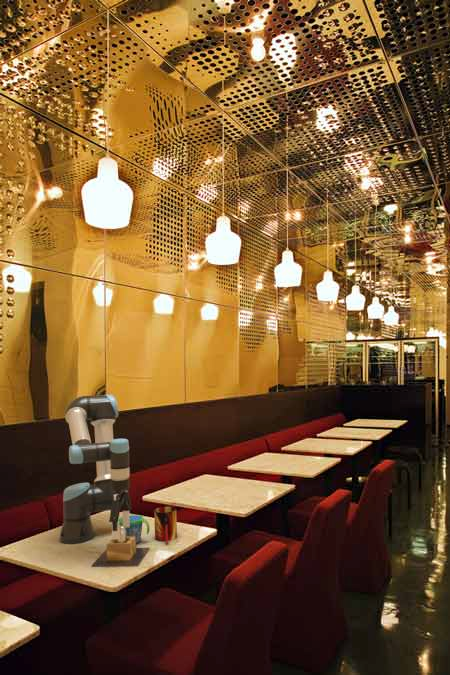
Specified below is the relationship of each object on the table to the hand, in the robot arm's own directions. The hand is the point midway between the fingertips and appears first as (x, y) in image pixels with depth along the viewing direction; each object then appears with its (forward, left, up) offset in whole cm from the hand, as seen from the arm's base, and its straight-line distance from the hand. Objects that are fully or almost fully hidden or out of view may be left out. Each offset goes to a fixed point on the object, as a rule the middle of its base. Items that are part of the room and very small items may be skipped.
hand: (121, 532), depth 186 cm
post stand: (0, 0, -9) cm, 9 cm away
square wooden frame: (0, 0, -9) cm, 9 cm away
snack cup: (-17, -1, -10) cm, 19 cm away
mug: (-21, +14, -10) cm, 27 cm away
